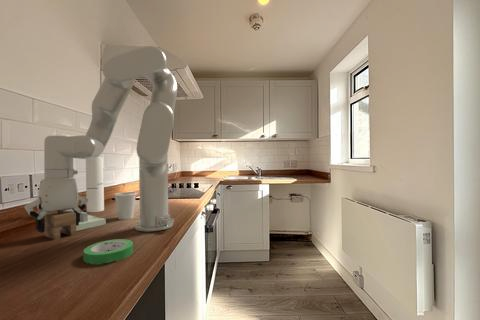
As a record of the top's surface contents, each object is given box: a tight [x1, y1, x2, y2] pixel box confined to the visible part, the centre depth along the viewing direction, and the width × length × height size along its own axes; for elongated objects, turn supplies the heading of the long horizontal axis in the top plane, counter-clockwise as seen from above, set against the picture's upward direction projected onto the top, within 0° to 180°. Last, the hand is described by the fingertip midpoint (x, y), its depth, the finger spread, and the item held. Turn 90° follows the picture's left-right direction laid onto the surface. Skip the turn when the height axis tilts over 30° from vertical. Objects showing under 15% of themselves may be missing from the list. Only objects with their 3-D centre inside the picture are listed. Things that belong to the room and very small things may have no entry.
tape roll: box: [82, 238, 134, 265], centre depth 64 cm, size 11×11×3 cm
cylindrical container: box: [85, 156, 105, 213], centre depth 120 cm, size 7×7×25 cm
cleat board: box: [60, 209, 107, 232], centre depth 94 cm, size 16×12×5 cm
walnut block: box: [44, 210, 77, 240], centre depth 82 cm, size 7×6×8 cm
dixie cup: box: [113, 191, 137, 220], centre depth 105 cm, size 8×8×10 cm
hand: (59, 228), depth 81 cm, fingers open, 9 cm apart
